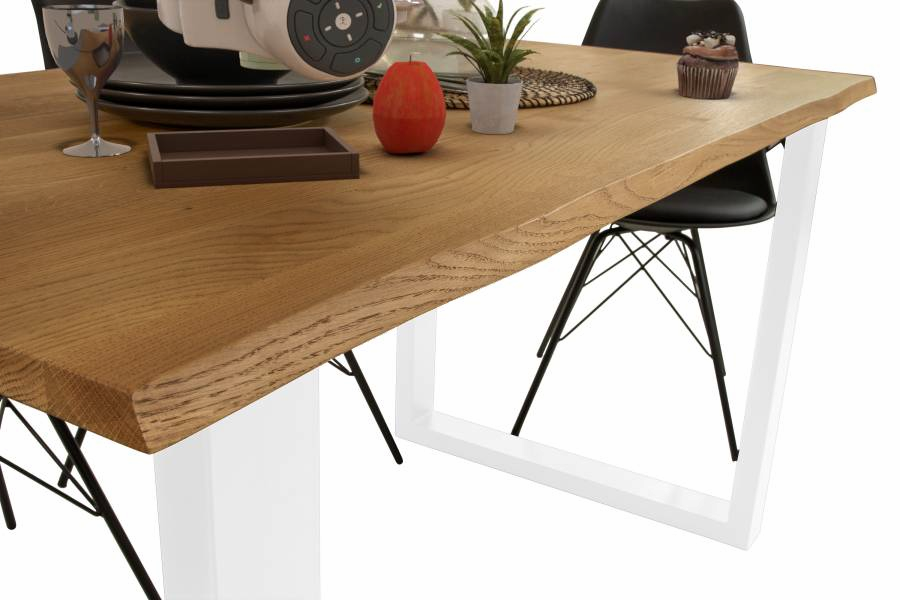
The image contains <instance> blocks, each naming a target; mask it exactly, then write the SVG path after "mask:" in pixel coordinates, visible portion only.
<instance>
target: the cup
mask: <svg viewBox="0 0 900 600" xmlns="http://www.w3.org/2000/svg"><path fill="white" fill-rule="evenodd" d="M238 54H239V63H240V66H241V67H243V68H245V69H250V70H251V69H252V70H263V71H291V70H290V69H289V68H287V67H286V66H284V65H283V64H282V63H280V62H279V61H278V60H277V59H275V60H271V59H268V58H265V57H261V56H258V55H255V54H251V53H247V52H243V51H242V52H238Z"/></svg>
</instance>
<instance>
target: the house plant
mask: <svg viewBox="0 0 900 600" xmlns="http://www.w3.org/2000/svg"><path fill="white" fill-rule="evenodd" d="M470 3H471V6H473V8H475V10H476V12H477V13H478V15H479V17H480V19H481V22H482V24H483V26H484V28H485V30H486V33H487V37H488V41H489V42H488V41H487V39H486V38H485V37H484V35H483V33H482V32H481V31H480V29H479V28H478V26H477V25H476V24H475V23H474V22H473V21H472V20H470V19H469V18H468V17H467V16H464V15H463V14H460V13H457V12H455V11H454V12H453V11H450V10H445V9H444V10H443V11H445V12H449V14H451V15H452V16H454V17H452V19H453V20H458V21H461V22H462V23H463V24H464V26H465V27H466V28H467V29H468V30H469V32H470V33H471V34H472V35H473V37H474V38H475V39H476V41H477V44H476V43H475V42H473V41H471V40H469V39H467V38H464V37H462V36H460V35H459V36H458V35H456V34H452V33H447V32H439V31H432V33H434V34H435V35H437V36H440V37H444V38H446V39H447V40H449V41H450V42H452V43H454V44H456V45H458V46H460V47H461V48H463V49H465V50H467V51H468V52H469V53H470V54H471V55H470V54H469V53H466V52H463V51H462V50H461V49H460V48H459V47H458V46H456V45H453V44H450V43H447V45H449V46H452V47H454V48H455V49H456V50H455V51H450V52H448V53H446V54H444V56H442V58H441V60H443V58H446V57H449V56H454V55H460V56H463V57H464V58H465V59H466V60H467V61H468V62H469V63H470V64H471V65H472V66H473V67H474V69H476V71H477V72H478V73H479V75H481V76H474V77H469V78H466V90H467V98H468V105H469V113H470V114H469V115H470V121H471V129H472V131H473V132H475V133H479V134H485V135H508V134H511V133H513V132H514V130H515V125H516V121H517V115H518V111H519V105H520V101H521V94H522V91H523V86H524V80H523V79H520V78H516V77H510V74H511V72H512V71H513V70H514V68H515V67H516V66H517V65H518V64H520V63H521V62H524V61H527V60H528V57H526V56H528V55H529V56H530V55H533V54H539V56H541V57H542V54H541V52H537V51H535V50H532V49H521V48H517V47H518V45H519V44H520V43H521V42H522V39H524V37H525V36H526V35H527V33H528V32H529V31H530V30H531V29H532V28H533V26H534V25H535V24H536V23H537V22H539V20H540V18H538V19H537V20H536V21H534V22H533V23H532V24H531V25H530V27H529V28H528V29H527V30H526V32H525V33H524V34H523V32H524V31H525V29H526V27H527V26H529V24H530V23H531V22H532V17H533V16H534V14H535V13H536V12H538V11H540V10H544V9H545V7H537V8H534V9H531V10H529V11H528V12H526V13H525V14H524V15H523V16H522V17H521V18H520V19H519V21H518V22H517V23H516V25H515V26H514V29H513V31H512V34H511V37H510V39H509V40H508V42H507V44H506V47H505V40H506V37H507V34H508V32H509V30H510V27H511V25H512V22H513V20H514V18H515V17H516V15H517V14H518V13H519V12H520V11H521V10H523V9H525V8H529V7H530V5H526V6H522V7H519V8H518V9H517V10H515V11H514V12H513V14H512V15H511V17H510V19H508V20H509V21H508V23H507V25H506V27H505V32H504V34H503V31H504V3H503V0H498V9H497V12H496V16H494V13H493V11H492V9H490V8H489V6H487V5H484V4H483V8H484V12H485V14H484V13H483V11H482V10H481V9H480V8H479V7H478V5H476V4H475V3H474V2H473V1H472V0H470ZM522 34H523V35H522ZM521 35H522V36H521ZM520 36H521V38H520V39H519V37H520ZM517 40H518V42H517ZM443 45H445V43H443ZM504 47H505V49H504ZM469 58H470V59H471V60H473V61H474V62H475V64H476V65H477V66H476V65H475V64H474V62H472V61H471V60H470V59H469ZM529 60H530V61H531V62H533V61H532V59H531V58H529ZM477 67H478V68H477Z"/></svg>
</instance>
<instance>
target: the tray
mask: <svg viewBox="0 0 900 600" xmlns="http://www.w3.org/2000/svg"><path fill="white" fill-rule="evenodd" d="M146 143H147V154H148V156H147V157H148V162H149V165H150V171H151V176H152V181H153V186H154V189H155V190H164V189H185V188H203V187H204V188H205V187H207V188H208V187H225V186H243V185H246V186H247V185H264V184H267V185H268V184H284V183H287V184H288V183H305V182H324V181H325V182H326V181H328V182H329V181H344V180H346V181H347V180H359V179H360V153H359V152H358V151H357V150H356V149H355V148H354V147H352V145H351V144H350V143H348V142H347V141H346V140H345V139H344V138H342V137H341V136H340V135H339V134H338V133H337V132H336V131H334V130H333V129H332V128H331V127H330V126H313V127H312V126H310V127H283V128H282V127H280V128H278V127H277V128H251V129H248V128H247V129H224V130H223V129H222V130H221V129H219V130H218V129H217V130H191V131H163V132H162V131H161V132H159V131H157V132H147V133H146Z"/></svg>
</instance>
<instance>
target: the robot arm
mask: <svg viewBox="0 0 900 600" xmlns="http://www.w3.org/2000/svg"><path fill="white" fill-rule="evenodd" d="M424 4H425V2H424V0H156V8H157V15H158V18H159V21H160V22H161V23H162V24H163V25H164V26H165V27H166V28H167V29H168V30H170V31H172V32H174V33H176V34H180V35H182V37H183V42H184V44H185V45H186V46H189V47H192V48H202V49H208V50H223V51H231V52H238V53H239V52H242V51H243V52H247V53H251V54H255V55H258V56H261V57H265V58H268V59H271V60H275V59H277V60H278V61H279V62H280V63H282V64H283V65H284V66H286V67H287V68H289V69H290V70H289V71H292V72H294V73H296V74H298V75H300V76H302V77H305V78H307V79H310V80H314V81H319V82H342V81H347V80H351V79H354V78H357V77H360V76H362V75H363V74H365V73H366V72H368V71H369V70H370V69H373V67H374V66H375V65H376V64H377V63H379V62H380V60H382V58H383V57H384V56H385V54H386V53H387V51H388V49H389V48H390V46H391V43H392V42H393V39H394V35H395V31H396V27H397V25H402V24H405V23H406V22H407V20H408V11H409V10H411V9H423V6H424Z"/></svg>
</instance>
